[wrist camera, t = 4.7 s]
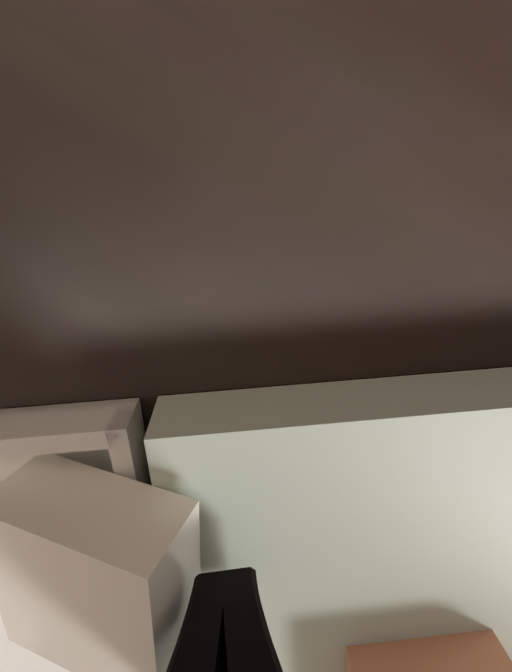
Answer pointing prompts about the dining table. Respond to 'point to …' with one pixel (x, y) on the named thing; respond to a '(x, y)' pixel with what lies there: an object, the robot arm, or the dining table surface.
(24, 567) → the tile cream
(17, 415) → the tray
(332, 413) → the board
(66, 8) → the dining table surface
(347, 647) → the tile terracotta
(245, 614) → the robot arm
